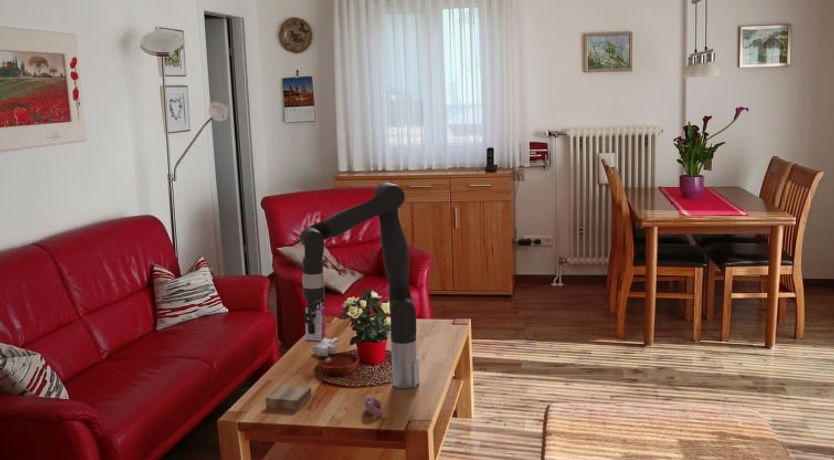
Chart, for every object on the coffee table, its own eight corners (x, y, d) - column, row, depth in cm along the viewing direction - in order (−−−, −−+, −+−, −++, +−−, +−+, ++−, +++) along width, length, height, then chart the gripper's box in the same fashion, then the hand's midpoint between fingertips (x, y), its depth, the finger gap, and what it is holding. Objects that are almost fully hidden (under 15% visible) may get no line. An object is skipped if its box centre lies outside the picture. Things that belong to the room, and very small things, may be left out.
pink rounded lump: (370, 410, 294) (360, 394, 292) (382, 404, 294) (372, 388, 292) (372, 422, 284) (361, 405, 283) (383, 416, 284) (373, 399, 283)
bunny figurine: (309, 348, 344) (318, 333, 358) (310, 360, 345) (319, 344, 359) (332, 349, 342) (340, 333, 356) (333, 360, 344) (341, 344, 358)
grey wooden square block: (311, 398, 304) (310, 387, 303) (298, 411, 293) (297, 400, 292) (281, 395, 307) (280, 385, 306) (266, 408, 296) (265, 398, 295)
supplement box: (321, 342, 295) (320, 310, 292) (305, 341, 296) (303, 310, 294) (326, 337, 300) (325, 306, 298) (310, 336, 301) (309, 305, 299)
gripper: (315, 290, 286) (317, 338, 290) (331, 280, 300) (332, 325, 303) (295, 289, 288) (297, 336, 292) (311, 279, 302) (313, 324, 305)
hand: (315, 330), depth 297 cm, fingers closed on supplement box, 6 cm apart
